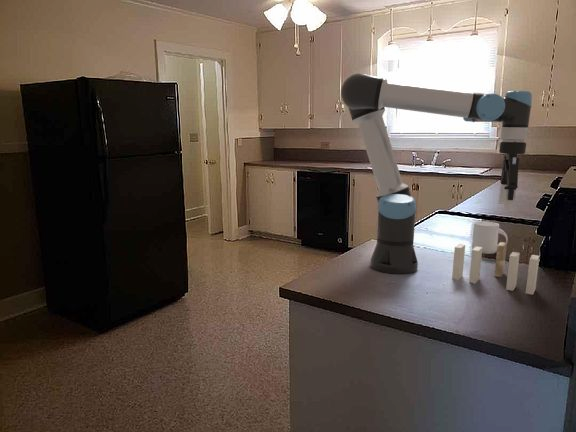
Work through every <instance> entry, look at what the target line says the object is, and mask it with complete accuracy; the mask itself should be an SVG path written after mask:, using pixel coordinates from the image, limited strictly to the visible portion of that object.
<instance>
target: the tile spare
mask: <svg viewBox="0 0 576 432" xmlns="http://www.w3.org/2000/svg"><path fill="white" fill-rule="evenodd" d="M497 245H498V246H497V251H496V257H495V268H494V276H493V277H494V278H495V277H497V278H502V277H503V275H504V273H505V268H506V267H505V265H506V256H507V247H508V246H507V245H508V242H507V243H506V242H503V241H500V242H499V243H497Z"/></svg>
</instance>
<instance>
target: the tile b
mask: <svg viewBox="0 0 576 432" xmlns="http://www.w3.org/2000/svg"><path fill="white" fill-rule="evenodd" d="M482 255H483V254H482V247H477V246H476V247H475V248H474V249H472V248H471V257H470V267H469V270H470V271H469V278H468V279H469V280H468V282H469V283H471V284H477V283H478V281H479V280H480V276H481V267H482V258H483V257H482Z"/></svg>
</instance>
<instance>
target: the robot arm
mask: <svg viewBox="0 0 576 432" xmlns="http://www.w3.org/2000/svg"><path fill="white" fill-rule="evenodd" d="M340 96H341V100H342V102H343V103H344V105H345V106H346V107H347V108H348V111H349V114H350V117H351V120H352V122H353V123H355V124H357V126H358V128H359V132H360V135H361V138H362V141H363V145H364V148H365V151H366V154H367V157H368V160H369V164H370V168H371V170H372V174H373V177H374V180H375V184H376V187H377V189H378V190H377V192H376V195H375V197H376V201H377V204H378V205H377V210H378V212H377V213H378V214H377V230H376V231H377V233H376V234H377V235H376V236H377V237H376V244H375V246H374V249H373V251H372V255H371V257H370V262H369V263H370V265H369V266H370V267H371V268H372V269H373V270H376V271H378V272H381V273H387V274H393V275H394V274H396V275H403V274H404V275H405V274H412V273H414V272H417V270H418V268H419V267H418V265H419V263H418V259H417V255H416V254H417V253H416V251H415V248H414V239H415V227H416V226H415V225H416V213H417V202H416V199H415V198H414V197H412V193H411V190H410V187H409V185H408V184H406V183H404V182H403V180H402V175H401V174H400V169H399V167H398V164H397V161H396V160H397V159H396V156H395V154H394V149H393V148H392V147H393V146H392V144H391V140H390V137H389V134H388V130H387V127H386V125H385V124H386V123H385V121H384V117H383V116H384V113H385V111H386V109H385V108H391V109H397V110H403V111H404V110H405V111H411V112H412V111H413V112H420V113H427V114H436V115H443V116H449V117H457V118H463V119H462V120H463V121H465V122H471V123H475V122H477V123H492V122H493V123H502V124H501V128H500V129H501V131H500V142H499V150H498V151H499V154H503V155H504V154H505V155H504V157H503V158H504V159H503V160H502V161H503V165H502V170H501V176H500V189H499V195H498V204H501V205H503V211H511V212H513V211H514V207H515V200H516V199H515V198H516V192H517V189H518V187H519V186H518V185H519V184H518V183H519V182H518V181H519V177H518V176H519V162H520V157H518V156H517V155H524V154H526V152H527V151H526V149H527V142H525V141H527V139H528V135H529V134H530V133H531V132H530V130H529V125H530V123H529V122H530V117H531V116H530V115H531V110H532V98H533V94H532V92H530V91H528V90H510V91H507V92H506V93H505V95H504V97H502V96H501V95H500V94H498V93H495V92H494V93H493V92H490V93H482V92H473V91H466V90H458V89H450V88H441V87H432V86H426V85H425V86H423V85H416V84H409V83H407V84H406V83H401V82H400V83H399V82H394V81H393V82H391V81H388V79H387V78H386V77H379V76H374V75H369V74H366V73H355V74H352V75H350V76H348V77H347V78H346V79H345V80H344V82H343V84H342V86H341V90H340Z"/></svg>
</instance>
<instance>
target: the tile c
mask: <svg viewBox="0 0 576 432" xmlns="http://www.w3.org/2000/svg"><path fill="white" fill-rule="evenodd" d="M520 255H521V254H520V252H518V251H512V252H511V253H510V254H509V260H508V269H507V276H506V285H505V286H506V289H505V290H506V291H507V290H508V291H512V292H513V291H514V290H515V288H516V287H517V281H518V272H519V271H518V270H519V261H520Z"/></svg>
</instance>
